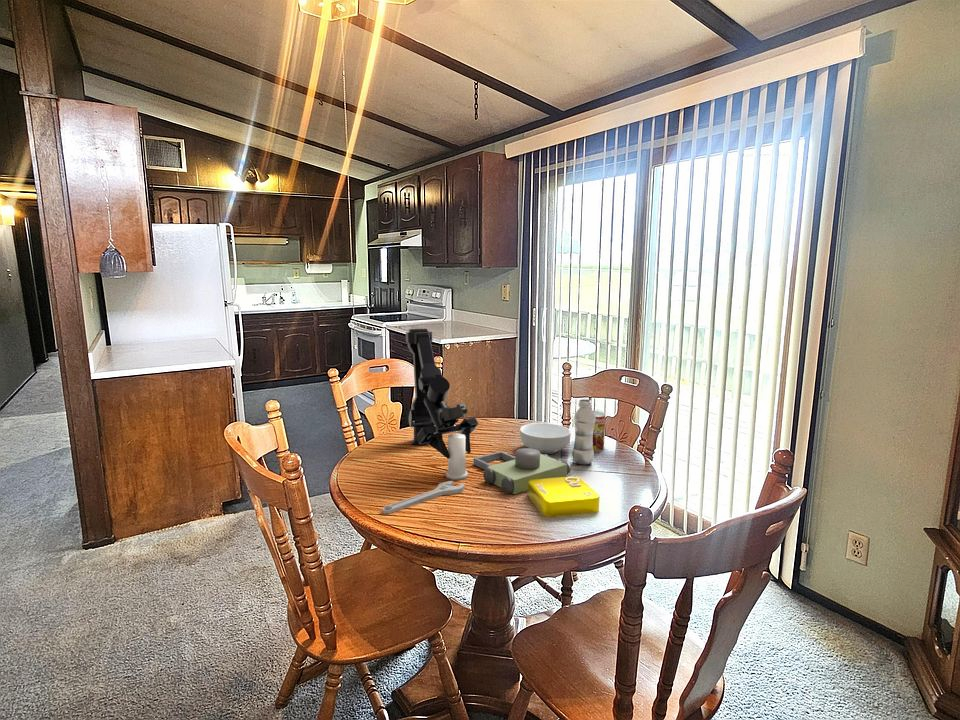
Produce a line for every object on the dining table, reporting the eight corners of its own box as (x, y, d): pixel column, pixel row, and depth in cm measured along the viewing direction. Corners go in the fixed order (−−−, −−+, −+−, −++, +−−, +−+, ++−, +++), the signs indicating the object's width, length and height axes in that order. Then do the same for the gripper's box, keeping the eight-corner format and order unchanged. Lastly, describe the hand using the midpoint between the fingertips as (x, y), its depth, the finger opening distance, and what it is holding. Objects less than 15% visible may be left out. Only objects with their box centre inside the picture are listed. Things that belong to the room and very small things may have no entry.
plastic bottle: (568, 460, 171) (570, 399, 167) (587, 458, 173) (589, 397, 169) (577, 468, 165) (580, 403, 161) (597, 465, 167) (600, 402, 163)
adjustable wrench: (386, 517, 133) (385, 510, 132) (373, 508, 138) (373, 502, 137) (467, 491, 148) (467, 485, 148) (454, 484, 153) (454, 478, 153)
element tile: (525, 494, 146) (526, 477, 145) (577, 489, 150) (578, 473, 149) (544, 519, 132) (545, 500, 131) (601, 513, 135) (602, 495, 134)
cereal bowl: (558, 462, 170) (559, 440, 169) (510, 452, 178) (511, 432, 177) (577, 447, 184) (578, 426, 183) (532, 439, 192) (532, 419, 191)
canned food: (601, 453, 178) (603, 417, 176) (577, 449, 181) (579, 415, 179) (605, 446, 185) (607, 411, 183) (582, 443, 188) (584, 409, 186)
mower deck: (458, 468, 164) (458, 442, 163) (514, 453, 177) (515, 429, 176) (510, 495, 145) (511, 466, 143) (569, 476, 158) (570, 450, 156)
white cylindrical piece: (447, 471, 161) (446, 432, 159) (468, 472, 161) (468, 433, 159) (444, 479, 155) (444, 439, 153) (466, 480, 155) (467, 439, 153)
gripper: (421, 399, 152) (443, 448, 145) (475, 390, 163) (497, 435, 156) (407, 420, 159) (427, 467, 152) (459, 410, 170) (480, 454, 163)
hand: (459, 455), depth 156 cm, fingers open, 7 cm apart
